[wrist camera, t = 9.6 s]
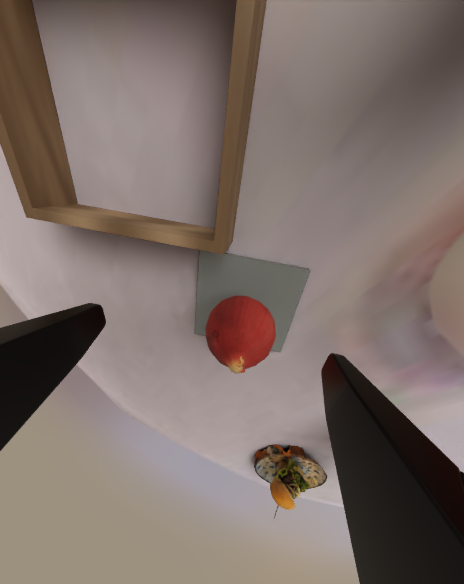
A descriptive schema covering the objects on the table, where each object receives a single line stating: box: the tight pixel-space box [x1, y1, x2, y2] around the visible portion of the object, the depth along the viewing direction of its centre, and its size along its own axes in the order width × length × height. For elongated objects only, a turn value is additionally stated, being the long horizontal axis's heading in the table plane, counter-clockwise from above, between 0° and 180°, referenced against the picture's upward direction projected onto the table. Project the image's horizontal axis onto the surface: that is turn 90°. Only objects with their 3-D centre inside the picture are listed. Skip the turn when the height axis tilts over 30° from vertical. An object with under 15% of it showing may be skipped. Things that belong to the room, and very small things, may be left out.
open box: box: [0, 0, 267, 254], centre depth 12 cm, size 16×16×4 cm
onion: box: [205, 296, 276, 373], centre depth 16 cm, size 6×6×8 cm
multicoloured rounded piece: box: [254, 444, 327, 514], centre depth 31 cm, size 12×12×8 cm
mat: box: [195, 250, 310, 352], centre depth 20 cm, size 10×10×1 cm
